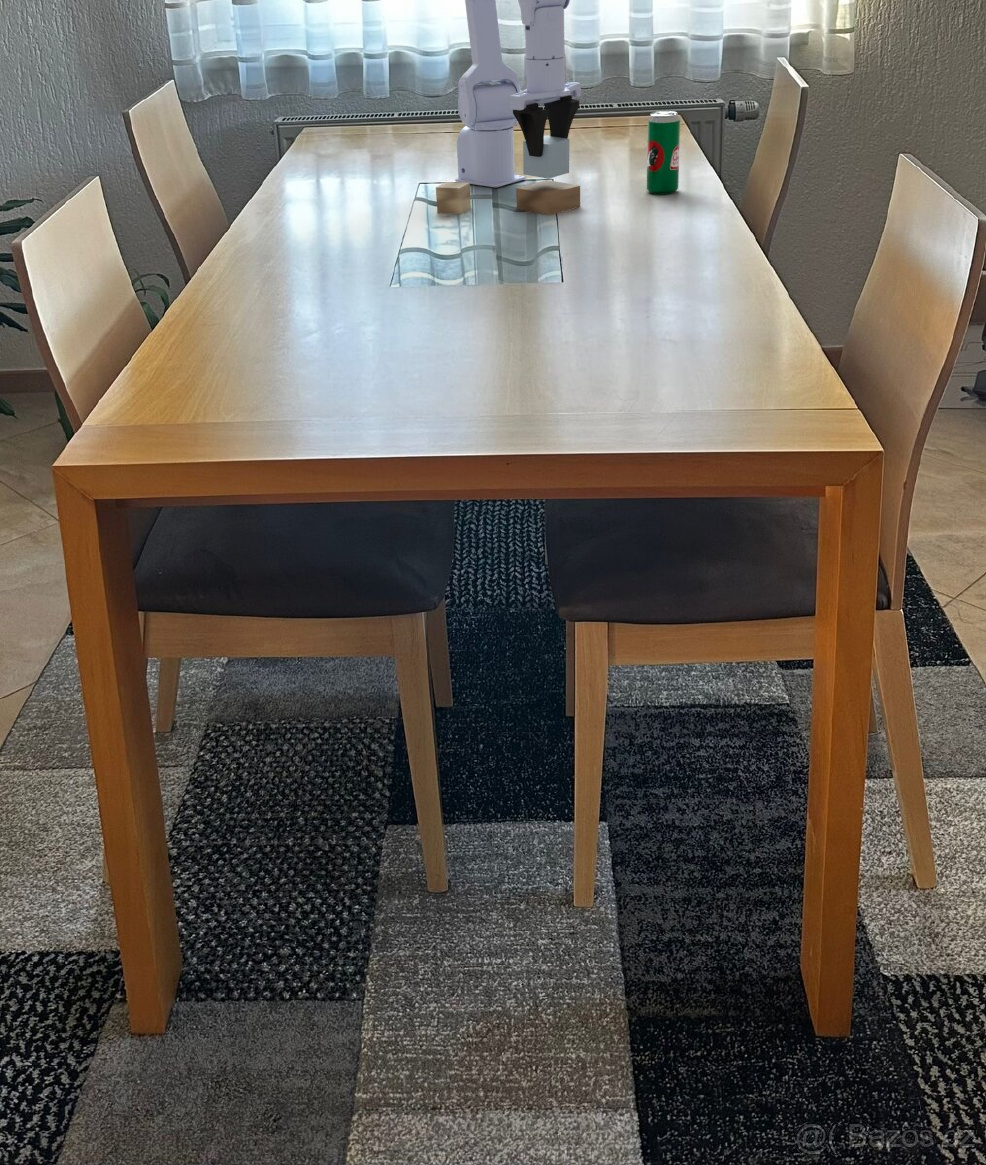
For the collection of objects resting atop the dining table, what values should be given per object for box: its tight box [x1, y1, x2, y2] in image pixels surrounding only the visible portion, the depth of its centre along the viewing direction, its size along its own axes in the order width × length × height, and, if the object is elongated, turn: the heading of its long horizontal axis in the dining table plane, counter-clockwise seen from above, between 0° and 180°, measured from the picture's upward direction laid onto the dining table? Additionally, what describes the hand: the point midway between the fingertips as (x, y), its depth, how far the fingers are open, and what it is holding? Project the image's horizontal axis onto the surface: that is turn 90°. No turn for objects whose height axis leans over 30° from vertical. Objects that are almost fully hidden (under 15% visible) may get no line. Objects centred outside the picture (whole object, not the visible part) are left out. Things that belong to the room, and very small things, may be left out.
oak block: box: [435, 181, 472, 215], centre depth 201 cm, size 4×4×4 cm
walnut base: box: [515, 179, 581, 216], centre depth 200 cm, size 7×7×4 cm
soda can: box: [646, 110, 681, 196], centre depth 204 cm, size 5×5×12 cm
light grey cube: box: [522, 134, 570, 180], centre depth 197 cm, size 5×5×5 cm
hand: (547, 152), depth 196 cm, fingers closed on light grey cube, 5 cm apart
